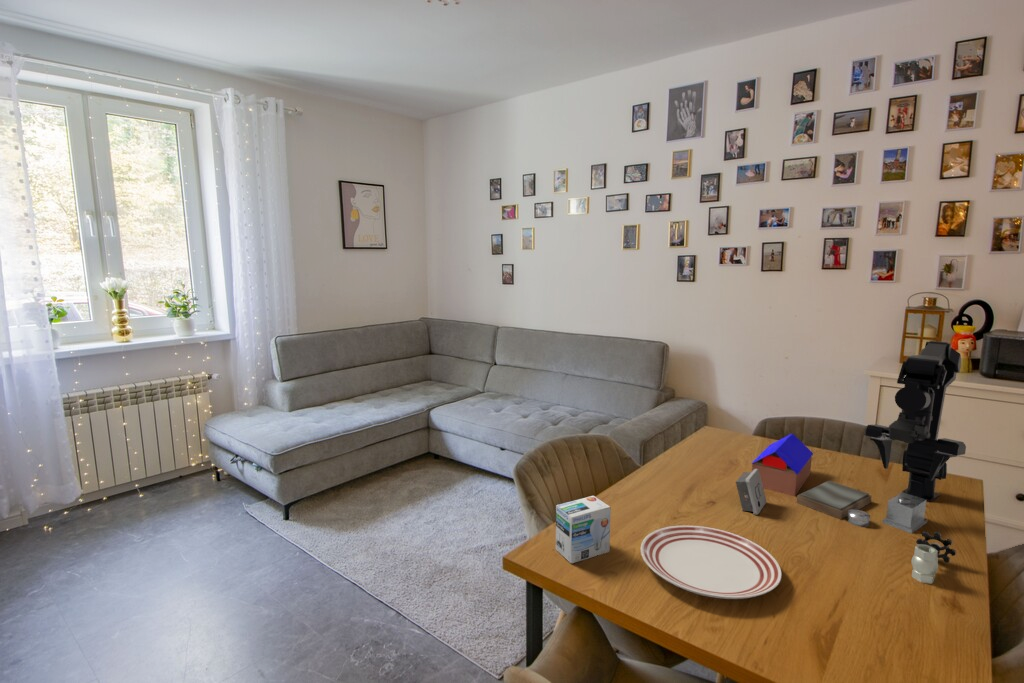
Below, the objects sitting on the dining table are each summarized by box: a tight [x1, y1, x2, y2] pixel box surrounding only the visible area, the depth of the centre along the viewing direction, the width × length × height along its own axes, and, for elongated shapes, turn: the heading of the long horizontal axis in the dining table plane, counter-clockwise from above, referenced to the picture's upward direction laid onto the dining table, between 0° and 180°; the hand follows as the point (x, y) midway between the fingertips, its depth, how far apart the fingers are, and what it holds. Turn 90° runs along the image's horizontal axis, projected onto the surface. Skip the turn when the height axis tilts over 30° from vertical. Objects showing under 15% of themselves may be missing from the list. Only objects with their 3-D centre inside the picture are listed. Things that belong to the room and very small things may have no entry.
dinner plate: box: [640, 524, 782, 600], centre depth 109 cm, size 28×27×3 cm
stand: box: [796, 480, 872, 520], centre depth 138 cm, size 16×11×2 cm
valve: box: [911, 531, 957, 585], centre depth 107 cm, size 7×7×12 cm
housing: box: [882, 491, 928, 534], centre depth 127 cm, size 9×6×7 cm, turn 123°
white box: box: [555, 495, 612, 564], centre depth 116 cm, size 11×7×11 cm, turn 117°
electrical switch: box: [735, 469, 767, 516], centre depth 136 cm, size 9×5×9 cm, turn 141°
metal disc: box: [847, 509, 871, 528], centre depth 128 cm, size 4×4×2 cm
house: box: [750, 433, 814, 497], centre depth 152 cm, size 12×20×12 cm, turn 139°
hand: (907, 474), depth 125 cm, fingers open, 9 cm apart
